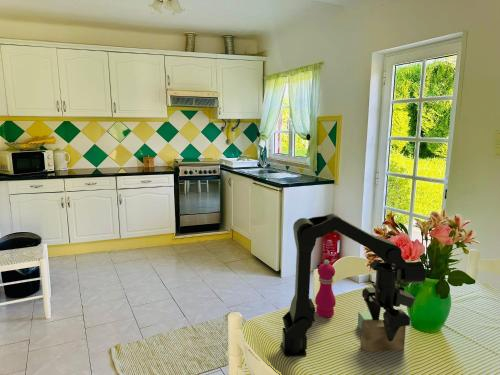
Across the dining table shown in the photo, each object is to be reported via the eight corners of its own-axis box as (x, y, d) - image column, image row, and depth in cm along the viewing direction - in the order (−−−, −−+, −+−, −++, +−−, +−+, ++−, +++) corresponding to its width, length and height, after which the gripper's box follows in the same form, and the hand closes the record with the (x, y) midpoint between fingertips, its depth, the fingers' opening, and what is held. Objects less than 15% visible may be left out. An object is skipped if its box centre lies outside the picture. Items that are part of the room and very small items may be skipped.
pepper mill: (330, 320, 121) (332, 265, 118) (311, 313, 125) (312, 260, 122) (338, 311, 127) (340, 259, 123) (320, 306, 131) (321, 254, 128)
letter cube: (364, 334, 113) (364, 319, 112) (357, 325, 118) (358, 311, 117) (378, 333, 113) (379, 319, 113) (371, 324, 118) (372, 310, 118)
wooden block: (365, 352, 104) (366, 327, 102) (360, 345, 107) (361, 321, 106) (404, 349, 105) (405, 325, 103) (398, 342, 108) (399, 318, 107)
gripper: (431, 296, 94) (426, 349, 97) (396, 269, 113) (392, 314, 115) (391, 298, 93) (388, 351, 96) (362, 270, 111) (360, 316, 114)
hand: (382, 331), depth 105 cm, fingers open, 9 cm apart
